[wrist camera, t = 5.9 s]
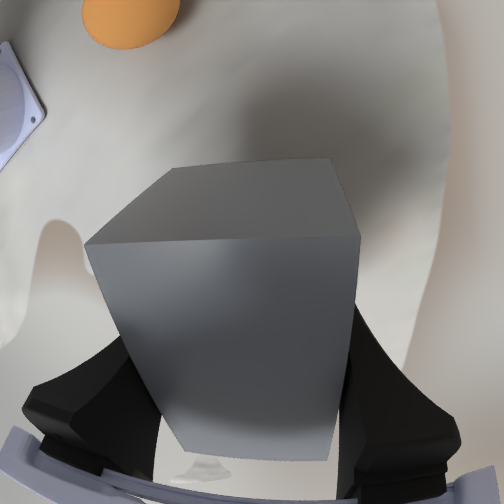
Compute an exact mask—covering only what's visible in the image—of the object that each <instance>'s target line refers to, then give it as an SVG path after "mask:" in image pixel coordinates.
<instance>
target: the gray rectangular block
mask: <svg viewBox="0 0 504 504" xmlns="http://www.w3.org/2000/svg"><path fill="white" fill-rule="evenodd" d="M360 239H361V235H360V232H359V230H358V227H357V224H356V221H355V219H354V216H353V213H352V211H351V208H350V206H349V203H348V200H347V198H346V195H345V193H344V190H343V188H342V185H341V183H340V180H339V178H338V176H337V173H336V171H335V168H334V166H333V164H332V161H331V159H330V158H306V159H281V160H262V161H247V162H233V163H221V164H210V165H200V166H190V167H181V168H172V169H171V170H170V171H168V172H167V173H166V174H165V175H163V176H162V177H161V178H160V179H158V180H157V181H156V182H155V183H153V184H152V185H151V186H150V187H149V188H147V189H146V190H145V191H144V192H143V193H141V194H140V195H139V196H138V197H137V198H135V199H134V200H133V201H132V202H131V203H130V204H128V205H127V206H126V207H125V208H124V209H123V210H121V211H120V212H119V213H118V214H117V215H116V216H115V217H113V218H112V219H111V220H110V221H109V222H108V223H107V224H106V225H105V226H103V227H102V228H101V229H100V230H99V231H98V232H97V233H96V234H95V235H94V236H93V237H92V238H90V239H89V240H88V241H87V242H86V243H85V244H84V247H85V250H86V253H87V256H88V259H89V261H90V264H91V267H92V269H93V272H94V275H95V277H96V280H97V282H98V285H99V287H100V290H101V292H102V295H103V297H104V300H105V302H106V304H107V307H108V309H109V311H110V314H111V316H112V318H113V320H114V323H115V325H116V327H117V329H118V331H119V334H120V336H121V338H122V340H123V342H124V344H125V346H126V349H127V351H128V353H129V355H130V357H131V359H132V361H133V363H134V365H135V367H136V369H137V371H138V372H139V374H140V376H141V378H142V380H143V382H144V384H145V386H146V388H147V389H148V391H149V393H150V395H151V397H152V398H153V400H154V402H155V404H156V405H157V407H158V409H159V411H160V412H161V414H162V416H163V417H164V419H165V421H166V422H167V424H168V426H169V427H170V429H171V430H172V432H173V434H174V435H175V437H176V439H177V440H178V442H179V443H180V445H181V446H182V448H183V449H184V451H186V452H192V453H199V454H206V455H214V456H222V457H232V458H242V459H257V460H274V461H327V459H328V455H329V451H330V446H331V442H332V438H333V433H334V429H335V424H336V419H337V414H338V409H339V404H340V399H341V394H342V388H343V383H344V377H345V371H346V365H347V359H348V352H349V345H350V338H351V331H352V323H353V315H354V306H355V297H356V288H357V277H358V266H359V253H360Z"/></svg>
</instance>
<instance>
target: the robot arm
mask: <svg viewBox="0 0 504 504" xmlns="http://www.w3.org/2000/svg"><path fill="white" fill-rule="evenodd" d="M44 116H45V113H44V110H43V108H42V107H41V105H40V103H39V101H38V99H37V97H36V96H35V94H34V92H33V90H32V88H31V86H30V84H29V82H28V80H27V78H26V76H25V74H24V72H23V70H22V68H21V66H20V64H19V62H18V60H17V58H16V56H15V54H14V52H13V50H12V48H11V46H10V43H9V42H8V41H4V42H2V43H1V44H0V171H1V170H2V169H3V167H4V166H5V165H6V163H7V162H8V161H9V159H10V158H11V157H12V156H13V154H14V153H15V152H16V151H17V149H18V148H19V147H20V146H21V144H22V143H23V142H24V141H25V140H26V138H27V137H28V136H29V135H30V134H31V133H32V132H33V130H34V129H35V128H36V127H37V126H38V125H39V124H40V123H41V121H42V120H43V119H44ZM34 117H35V119H36V121H35V120H34ZM22 412H23V414H24V415H25V417H26V418H27V419H28V420H29V421H30V422H31V423H32V424H33V425H34V426H35V427H37V428H38V429H39V430H40V431H41V432H42V433H43V434H45V436H44V439H43V440H42V443H41V442H40V441H39V440H38V439H37V438H36V437H35V436H33V435H32V434H30V433H29V432H27V431H25V430H23V429H21V428H19V427H17V426H13V427H12V429H11V431H10V433H9V435H8V437H7V439H6V441H5V443H4V445H3V447H2V449H1V451H0V471H1V472H3V473H4V474H5V475H7V476H8V477H10V478H12V479H13V480H15V481H16V482H18V483H19V484H21V485H23V486H24V487H26V488H28V489H29V490H31V491H33V492H34V493H36V494H38V495H39V496H41V497H43V498H45V499H47V500H48V501H51V502H52V503H54V504H146V503H144V502H143V501H142V500H141V499H139V498H136V497H134V496H137V497H140V498H144V499H148V500H151V501H156V502H160V503H163V504H500V497H499V490H498V484H497V479H496V473H495V468H494V466H492V465H491V466H488V467H485V468H482V469H479V470H476V471H472V472H469V473H466V474H464V475H461V476H460V477H458V478H457V479H456V480H455V481H454V482H451V483H448V484H446V478H445V473H446V472H447V470H448V468H447V461H448V460H449V459H450V458H451V457H452V456H453V455H454V454H455V453H456V452H457V451H458V449H459V448H460V446H461V438H460V433H459V430H458V427H457V425H456V422H455V420H454V417H452V416H451V415H449V414H448V413H447V412H445V411H444V410H442V409H441V408H440V407H438V406H437V405H436V404H435V403H433V402H432V401H431V400H430V399H428V398H427V397H426V396H425V395H424V394H423V393H422V392H421V391H420V390H419V389H418V388H417V387H415V385H414V384H412V383H411V382H410V381H409V380H408V379H407V378H406V376H404V374H403V373H402V372H401V371H400V370H399V369H398V367H397V366H396V365H395V364H394V363H393V362H392V360H391V359H390V358H389V356H388V355H387V354H386V353H385V351H384V350H383V348H382V347H381V346H380V344H379V343H378V341H377V340H376V338H375V337H374V335H373V334H372V332H371V331H370V329H369V327H368V326H367V324H366V322H365V321H364V319H363V317H362V315H361V314H360V312H359V310H358V308H357V306H356V304H355V306H354V315H353V323H352V331H351V338H350V345H349V352H348V359H347V365H346V371H345V377H344V383H343V388H342V394H341V399H340V404H339V462H338V481H337V494H336V500H319V501H289V500H266V499H252V498H240V497H232V496H223V495H217V494H210V493H203V492H197V491H192V490H186V489H181V488H176V487H171V486H167V485H162V484H158V483H154V482H153V469H154V458H155V450H156V443H157V437H158V431H159V426H160V421H161V416H162V414H161V412H160V411H159V409H158V407H157V405H156V404H155V402H154V400H153V398H152V397H151V395H150V393H149V391H148V389H147V388H146V386H145V384H144V382H143V380H142V378H141V376H140V374H139V372H138V371H137V369H136V367H135V365H134V363H133V361H132V359H131V357H130V355H129V353H128V351H127V349H126V346H125V344H124V342H123V340H122V338H121V336H119V337H118V338H116V339H115V340H114V341H113V342H112V343H111V344H109V345H108V346H107V347H105V348H104V349H103V350H101V351H100V352H99V353H97V354H96V355H95V356H93V357H92V358H90V359H89V360H87V361H85V362H84V363H82V364H81V365H79V366H77V367H76V368H74V369H72V370H70V371H68V372H67V373H65V374H63V375H61V376H59V377H57V378H54V379H52V380H50V381H48V382H45V383H43V384H40V385H38V386H35V387H33V389H32V391H31V392H30V394H29V396H28V398H27V400H26V402H25V403H24V405H23V407H22ZM126 493H127V494H126ZM129 494H130V495H129ZM131 495H134V496H131Z"/></svg>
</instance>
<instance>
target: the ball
mask: <svg viewBox="0 0 504 504" xmlns="http://www.w3.org/2000/svg"><path fill="white" fill-rule="evenodd" d="M179 6H180V0H84V2H83V6H82V18H83V23H84V26H85V28H86V30H87V32H88V33H89V35H90V36H91V37H92V38H93V39H94V40H96V41H97V42H98V43H100V44H102V45H104V46H107V47H109V48H114V49H134V48H138V47H141V46H144V45H147V44H149V43H151V42H153V41H154V40H156V39H157V38H159V37H160V36H161V35H163V34H164V33H165V32H166V31H167V30H168V28H169V27H170V26H171V25H172V23H173V22H174V20H175V18H176V16H177V13H178V10H179Z"/></svg>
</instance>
